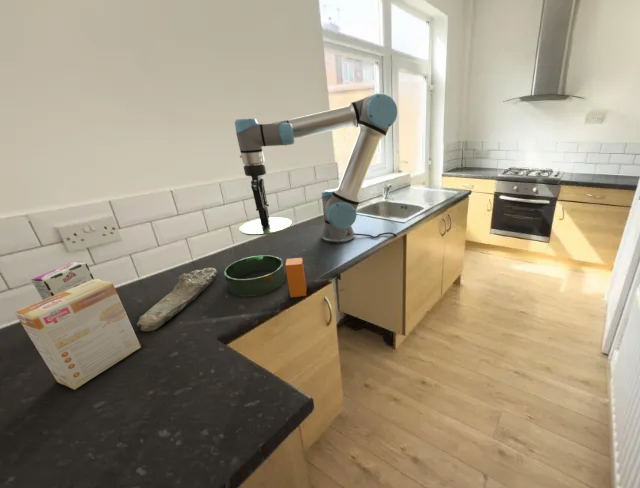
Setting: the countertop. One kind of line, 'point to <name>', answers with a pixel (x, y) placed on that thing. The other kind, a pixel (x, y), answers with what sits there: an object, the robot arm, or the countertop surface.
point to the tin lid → (257, 229)
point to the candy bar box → (62, 279)
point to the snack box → (296, 277)
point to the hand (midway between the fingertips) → (265, 224)
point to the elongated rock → (177, 298)
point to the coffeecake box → (80, 331)
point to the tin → (255, 284)
